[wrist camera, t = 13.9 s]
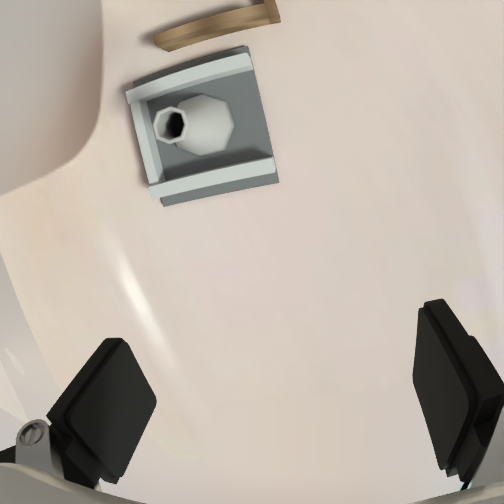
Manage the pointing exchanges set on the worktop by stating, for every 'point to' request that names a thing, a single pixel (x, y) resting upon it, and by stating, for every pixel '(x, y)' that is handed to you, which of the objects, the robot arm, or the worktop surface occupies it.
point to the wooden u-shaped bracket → (218, 25)
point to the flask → (196, 125)
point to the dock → (213, 165)
